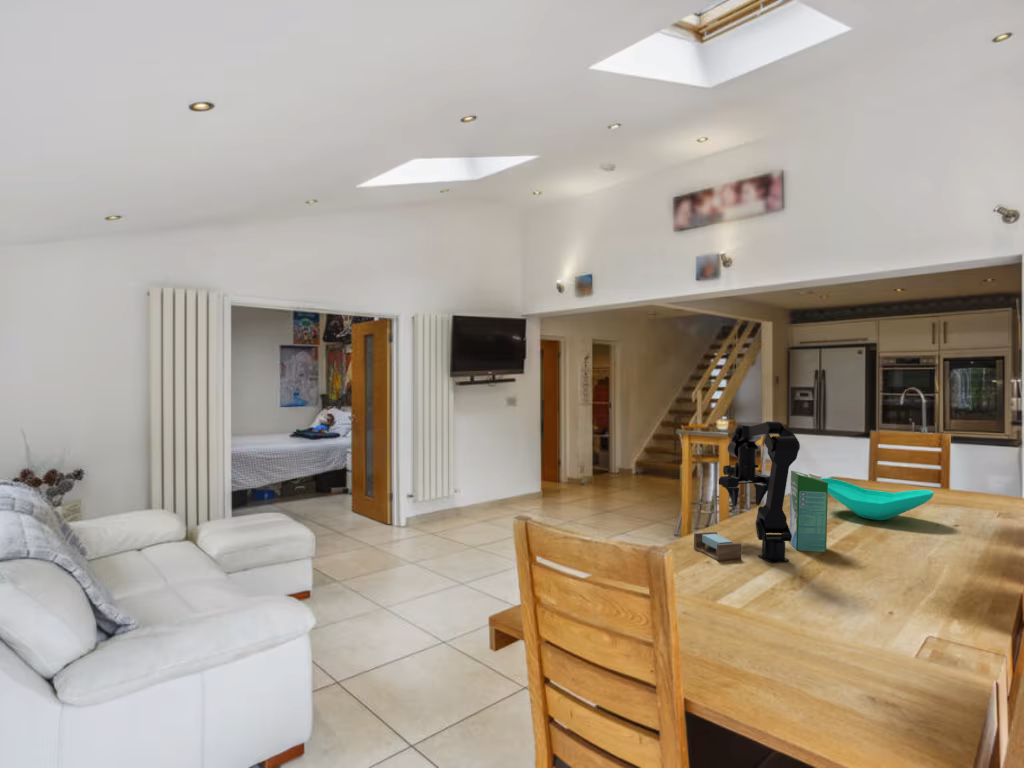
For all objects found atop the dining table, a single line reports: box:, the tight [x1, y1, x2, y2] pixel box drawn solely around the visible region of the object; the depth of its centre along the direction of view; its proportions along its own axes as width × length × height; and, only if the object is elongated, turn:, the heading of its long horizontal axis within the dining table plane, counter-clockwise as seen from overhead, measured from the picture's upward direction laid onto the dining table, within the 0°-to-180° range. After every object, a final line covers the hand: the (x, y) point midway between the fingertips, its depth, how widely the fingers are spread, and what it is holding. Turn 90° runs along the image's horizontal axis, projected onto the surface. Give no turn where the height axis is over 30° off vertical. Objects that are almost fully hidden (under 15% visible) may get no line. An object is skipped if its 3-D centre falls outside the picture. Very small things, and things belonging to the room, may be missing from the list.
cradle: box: [693, 531, 742, 562], centre depth 186 cm, size 14×8×5 cm, turn 15°
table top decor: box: [821, 477, 935, 521], centre depth 234 cm, size 40×28×13 cm
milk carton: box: [789, 470, 829, 553], centre depth 193 cm, size 9×9×25 cm
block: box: [702, 533, 734, 549], centre depth 186 cm, size 9×5×2 cm, turn 16°
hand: (746, 505), depth 201 cm, fingers open, 9 cm apart
